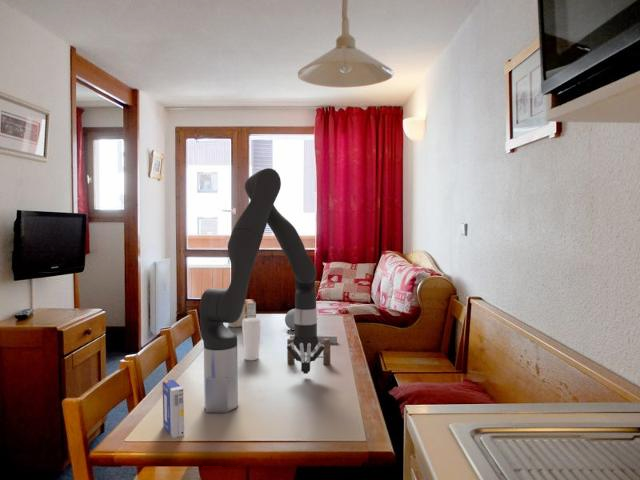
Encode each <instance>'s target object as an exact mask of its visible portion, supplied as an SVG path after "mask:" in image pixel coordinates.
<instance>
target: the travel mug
mask: <svg viewBox="0 0 640 480" xmlns="http://www.w3.org/2000/svg"><path fill="white" fill-rule="evenodd" d="M243 319H245V305H244V307H243V310H242V313H241V315H240V317H239V319H238V320H237V321H236V322H234V323H227V324H228V327H230V328H242V321H243Z"/></svg>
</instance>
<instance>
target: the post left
mask: <svg viewBox="0 0 640 480" xmlns="http://www.w3.org/2000/svg"><path fill="white" fill-rule="evenodd" d="M286 340H287V343H286V347H287V346H288V344H291V343H292V342H293V338H290V337H289V338H287V339H286ZM294 349H295V348H294ZM286 350H287V356H286V357H287V360H286V361H287V365H295V362H296V359H295V358H294V357H293V355H292V354H291V353H290V352H289V350H288V349H287V348H286Z"/></svg>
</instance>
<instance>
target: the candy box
mask: <svg viewBox="0 0 640 480" xmlns="http://www.w3.org/2000/svg"><path fill="white" fill-rule="evenodd" d="M244 305H245V318H257V303H256V301H254V299H252V298H251V299H250V298H249V299H245V303H244Z"/></svg>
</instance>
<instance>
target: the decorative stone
mask: <svg viewBox="0 0 640 480" xmlns="http://www.w3.org/2000/svg"><path fill="white" fill-rule="evenodd" d="M294 314H295V308H292V309H290V310H288V311H287V313H286V314H285V317H284V322H285V325H286V327H288V329H290V330H291V331H294Z"/></svg>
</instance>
